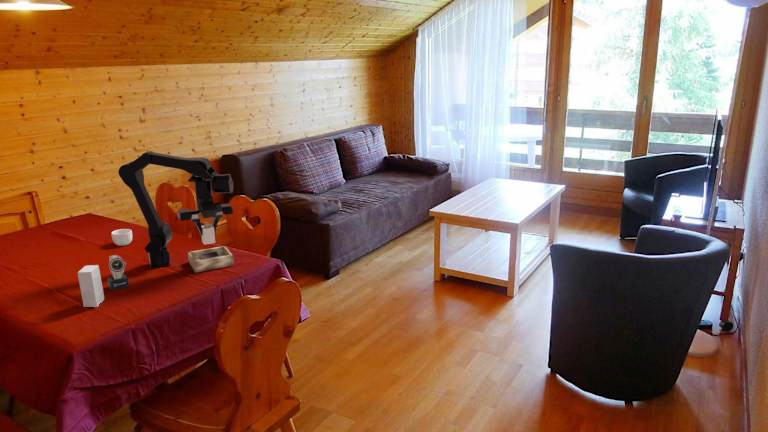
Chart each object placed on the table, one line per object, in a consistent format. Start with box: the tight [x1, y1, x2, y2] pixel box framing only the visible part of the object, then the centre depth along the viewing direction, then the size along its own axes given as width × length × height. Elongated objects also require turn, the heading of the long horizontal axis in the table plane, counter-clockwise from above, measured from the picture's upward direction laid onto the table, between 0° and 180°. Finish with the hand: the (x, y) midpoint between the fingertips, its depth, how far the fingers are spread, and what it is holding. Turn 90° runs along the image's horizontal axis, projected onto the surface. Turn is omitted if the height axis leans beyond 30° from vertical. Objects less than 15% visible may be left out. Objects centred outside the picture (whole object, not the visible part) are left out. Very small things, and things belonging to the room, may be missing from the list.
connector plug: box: [200, 221, 216, 245], centre depth 207 cm, size 4×4×8 cm
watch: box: [106, 254, 130, 291], centre depth 189 cm, size 6×8×11 cm
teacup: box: [111, 228, 133, 247], centre depth 234 cm, size 10×8×5 cm
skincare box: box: [77, 264, 105, 308], centre depth 176 cm, size 6×4×12 cm
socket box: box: [187, 245, 235, 273], centre depth 210 cm, size 14×12×4 cm
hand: (207, 234), depth 207 cm, fingers closed on connector plug, 4 cm apart
